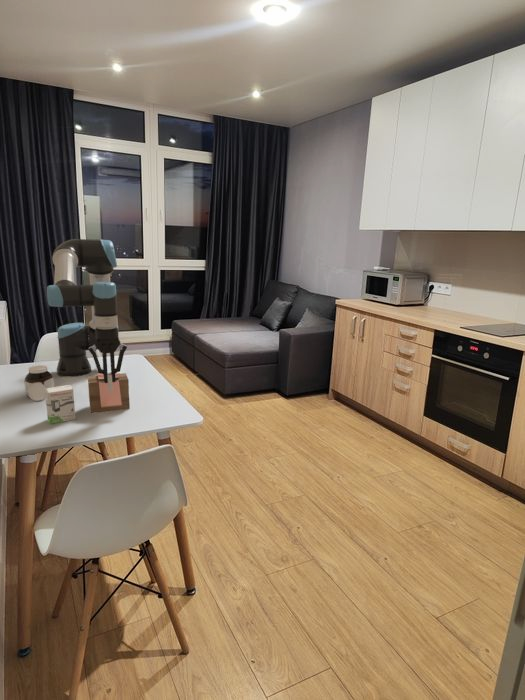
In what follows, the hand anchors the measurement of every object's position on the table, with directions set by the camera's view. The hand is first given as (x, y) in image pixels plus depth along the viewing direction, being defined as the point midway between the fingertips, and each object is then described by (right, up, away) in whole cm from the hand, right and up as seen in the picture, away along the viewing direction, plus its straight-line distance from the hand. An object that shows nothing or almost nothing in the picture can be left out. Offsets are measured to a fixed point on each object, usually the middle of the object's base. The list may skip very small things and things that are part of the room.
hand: (110, 390), depth 158 cm
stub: (-1, -1, +2) cm, 3 cm away
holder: (-4, -7, +11) cm, 14 cm away
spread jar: (-35, -4, +20) cm, 41 cm away
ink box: (-17, -10, -1) cm, 20 cm away
